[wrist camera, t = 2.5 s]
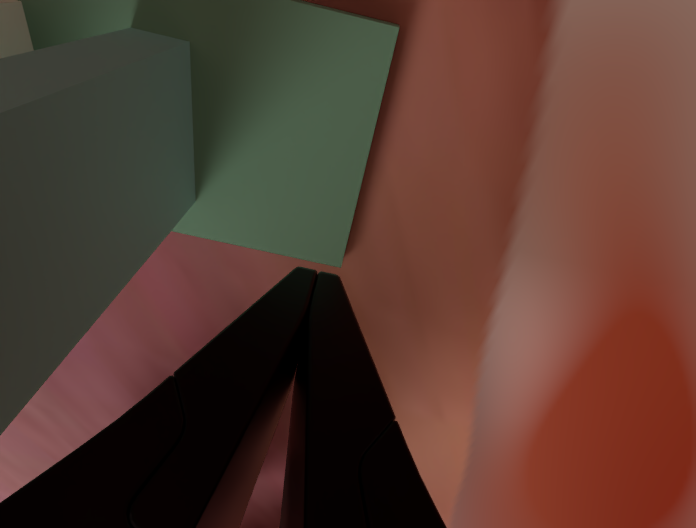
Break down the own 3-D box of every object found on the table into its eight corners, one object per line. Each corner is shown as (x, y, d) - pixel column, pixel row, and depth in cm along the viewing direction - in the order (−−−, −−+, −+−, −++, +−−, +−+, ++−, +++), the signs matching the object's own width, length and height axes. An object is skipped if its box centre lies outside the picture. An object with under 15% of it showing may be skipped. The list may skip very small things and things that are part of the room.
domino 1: (195, 201, 14) (-73, 522, 6) (149, 191, 14) (-186, 502, 6) (189, 41, 11) (-381, 255, 3) (130, 27, 11) (-626, 206, 3)
